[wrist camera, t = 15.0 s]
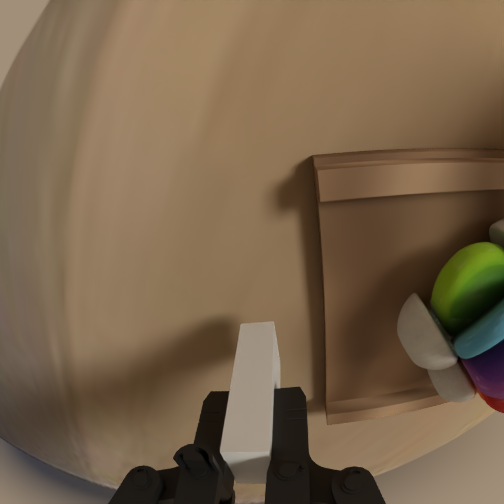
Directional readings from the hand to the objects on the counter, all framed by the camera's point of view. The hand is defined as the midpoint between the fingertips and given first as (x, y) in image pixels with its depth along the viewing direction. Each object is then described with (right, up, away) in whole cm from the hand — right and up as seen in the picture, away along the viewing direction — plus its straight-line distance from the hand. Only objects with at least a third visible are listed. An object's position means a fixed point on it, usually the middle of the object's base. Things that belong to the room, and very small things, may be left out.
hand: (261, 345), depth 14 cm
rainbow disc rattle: (+11, +2, 0) cm, 11 cm away
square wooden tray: (+11, +2, 0) cm, 11 cm away
